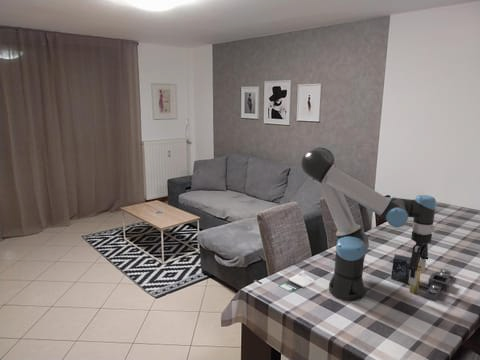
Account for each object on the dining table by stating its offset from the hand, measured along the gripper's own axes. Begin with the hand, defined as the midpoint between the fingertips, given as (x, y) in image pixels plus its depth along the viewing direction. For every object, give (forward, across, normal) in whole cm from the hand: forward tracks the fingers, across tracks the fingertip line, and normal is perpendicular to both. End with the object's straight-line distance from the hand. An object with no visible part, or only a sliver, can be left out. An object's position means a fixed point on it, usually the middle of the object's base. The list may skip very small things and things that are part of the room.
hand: (416, 278), depth 151 cm
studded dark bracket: (+7, +14, -6) cm, 17 cm away
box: (+7, +9, +9) cm, 14 cm away
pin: (+7, 0, 0) cm, 7 cm away
